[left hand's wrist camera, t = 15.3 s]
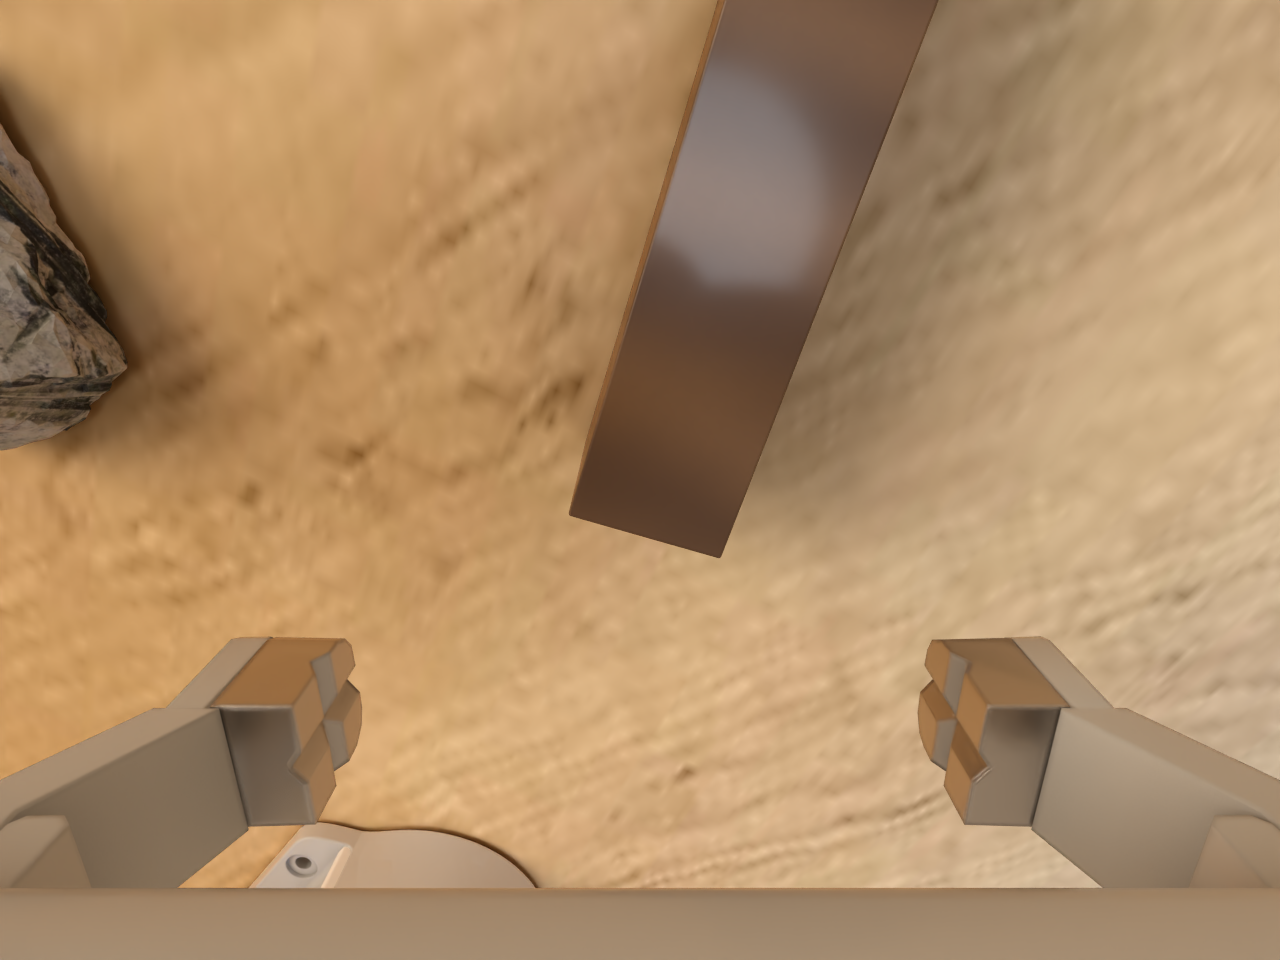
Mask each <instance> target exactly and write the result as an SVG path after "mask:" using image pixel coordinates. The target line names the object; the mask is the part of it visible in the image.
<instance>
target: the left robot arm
mask: <svg viewBox="0 0 1280 960" xmlns="http://www.w3.org/2000/svg"><path fill="white" fill-rule="evenodd" d="M354 667H355V661H354V656H353V651H352V646H351V644H350V643H349V642H348V641H347V640H346V639H342V638H293V637H275V638H273V637H239V638H235V639H231V640H230V641H229V642H228V643H227V644H226V645H225V646H224V647H223V648H222V650H221V651H220V652H219V653H218V654H217V655H216V656H215V657H214V658H213V659H212V660H211V661H210V662H209V663H208V664H207V665H206V666H205V667H204V668H203V669H202V670H201V672H200V673H199V674H198V675H197V676H196V677H195V678H194V679H193V680H192V681H191V682H190V683H189V684H188V685H187V686H186V687H185V688H184V689H183V690H182V691H181V692H180V694H179V695H178V696H177V697H176V698H175V699H174V700H173V701H172V702H171V703H170V704H169V705H168V706H167V707H166V708H153V709H151V710H149V711H147V712H144V713H142V714H140V715H138V716H136V717H134V718H132V719H130V720H127V721H125V722H123V723H121V724H119V725H117V726H115V727H112V728H110V729H108V730H106V731H104V732H102V733H100V734H98V735H95V736H93V737H91V738H89V739H87V740H85V741H83V742H80V743H78V744H76V745H74V746H72V747H70V748H68V749H66V750H63V751H61V752H59V753H57V754H55V755H53V756H51V757H49V758H46V759H44V760H42V761H40V762H38V763H36V764H34V765H31V766H29V767H27V768H25V769H23V770H21V771H19V772H17V773H14V774H12V775H10V776H8V777H6V778H4V779H2V780H0V960H1280V780H1278V779H1276V778H1274V777H1272V776H1269V775H1267V774H1265V773H1263V772H1261V771H1259V770H1257V769H1255V768H1252V767H1250V766H1248V765H1246V764H1244V763H1242V762H1240V761H1238V760H1235V759H1233V758H1231V757H1229V756H1227V755H1225V754H1223V753H1221V752H1218V751H1216V750H1214V749H1212V748H1210V747H1208V746H1206V745H1204V744H1201V743H1199V742H1197V741H1195V740H1193V739H1191V738H1189V737H1187V736H1184V735H1182V734H1180V733H1178V732H1176V731H1174V730H1172V729H1170V728H1167V727H1165V726H1163V725H1161V724H1159V723H1157V722H1155V721H1153V720H1150V719H1148V718H1146V717H1144V716H1142V715H1140V714H1138V713H1136V712H1133V711H1131V710H1129V709H1127V708H1114V707H1113V706H1112V705H1111V704H1110V703H1109V702H1108V701H1107V700H1106V699H1105V698H1104V697H1103V696H1102V695H1101V693H1100V692H1099V691H1098V690H1097V689H1096V688H1095V687H1094V686H1093V685H1092V684H1091V683H1090V682H1089V681H1088V680H1087V679H1086V678H1085V677H1084V676H1083V675H1082V674H1081V672H1080V671H1079V670H1078V669H1077V668H1076V667H1075V666H1074V665H1073V664H1072V663H1071V662H1070V661H1069V660H1068V659H1067V658H1066V657H1065V656H1064V655H1063V654H1062V653H1061V651H1060V650H1059V649H1058V648H1057V647H1056V646H1055V645H1054V644H1053V643H1052V642H1051V641H1050V640H1048V639H1045V638H1043V637H1041V636H1038V637H1011V638H986V639H943V640H932V641H931V643H930V645H929V647H928V649H927V654H926V660H925V667H926V668H927V670H928V672H929V673H930V675H931V677H932V678H933V680H932V681H931V682H930V683H929V684H928V685H927V686H926V687H925V688H924V689H923V690H922V691H921V692H920V698H919V706H918V722H919V733H920V736H921V739H922V743H923V746H924V748H925V750H926V752H927V754H928V756H929V758H930V760H931V761H932V762H933V763H935V764H936V765H937V766H939V767H940V768H942V769H943V770H945V771H946V775H945V781H944V787H945V789H946V791H947V793H948V795H949V797H950V798H951V800H952V802H953V804H954V806H955V808H956V810H957V812H958V813H959V815H960V817H961V819H962V821H963V823H964V825H994V826H1030V827H1032V829H1031V830H1032V831H1034V832H1035V833H1036V834H1037V835H1039V836H1040V837H1041V838H1042V839H1044V840H1045V841H1046V842H1047V843H1048V844H1050V845H1051V846H1052V847H1053V848H1055V849H1056V850H1057V851H1058V852H1060V853H1061V854H1062V855H1063V856H1064V857H1066V858H1067V859H1068V860H1069V861H1071V862H1072V863H1073V864H1074V865H1076V866H1077V867H1078V868H1079V869H1081V870H1082V871H1083V872H1084V873H1085V874H1087V875H1088V876H1089V877H1090V878H1092V879H1093V880H1094V881H1095V882H1097V883H1098V884H1099V885H1100V886H1101V887H1103V888H535V886H534V885H533V884H532V882H531V881H530V880H529V879H528V878H527V877H526V876H525V875H524V873H523V872H522V871H520V870H519V869H518V868H517V867H516V866H515V865H513V864H512V863H511V862H510V861H508V860H507V859H505V858H504V857H503V856H501V855H499V854H498V853H496V852H494V851H492V850H491V849H489V848H487V847H485V846H482V845H480V844H478V843H475V842H473V841H470V840H467V839H464V838H461V837H458V836H454V835H450V834H445V833H440V832H434V831H425V830H392V831H373V832H370V831H360V830H356V829H352V828H348V827H344V826H340V825H335V824H330V823H322V822H317V821H318V819H319V817H320V815H321V813H322V812H323V810H324V808H325V806H326V804H327V802H328V800H329V798H330V797H331V795H332V793H333V791H334V789H335V787H336V781H335V775H334V771H335V770H337V769H338V768H340V767H341V766H343V765H344V764H345V763H347V762H348V761H349V760H350V758H351V756H352V754H353V752H354V750H355V748H356V746H357V743H358V739H359V734H360V730H361V726H362V704H361V697H360V692H359V691H358V690H357V689H356V688H355V687H354V686H353V685H352V684H351V683H350V682H349V681H348V680H347V678H348V677H349V675H350V673H351V672H352V670H353V668H354ZM285 825H304V826H302V827H301V828H300V829H299V830H298V831H297V832H296V834H295V835H294V836H293V837H292V838H291V839H290V841H289V842H288V843H287V844H286V845H285V846H284V847H283V849H282V850H281V851H280V852H279V853H278V854H277V855H276V857H275V858H274V859H273V860H272V861H271V862H270V864H269V865H268V866H267V867H266V868H265V869H264V870H263V872H262V873H261V874H260V875H259V876H258V877H257V879H256V880H255V881H254V882H253V883H252V884H251V885H250V887H249V888H178V887H179V886H180V885H181V884H182V883H184V882H185V881H186V880H187V879H189V878H190V877H191V876H192V875H194V874H195V873H196V872H197V871H199V870H200V869H201V868H202V867H203V866H205V865H206V864H207V863H208V862H210V861H211V860H212V859H213V858H215V857H216V856H217V855H218V854H220V853H221V852H222V851H223V850H224V849H226V848H227V847H228V846H229V845H231V844H232V843H233V842H234V841H236V840H237V839H238V838H239V837H241V836H242V835H243V834H244V833H245V832H247V831H248V827H250V826H285Z"/></svg>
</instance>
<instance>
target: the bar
mask: <svg viewBox="0 0 1280 960" xmlns="http://www.w3.org/2000/svg"><path fill="white" fill-rule="evenodd" d="M937 3H938V0H718V2H717V6H716V9H715V12H714V16H713V19H712V22H711V26H710V29H709V32H708V36H707V39H706V42H705V46H704V49H703V52H702V56H701V59H700V62H699V66H698V69H697V72H696V76H695V79H694V82H693V86H692V89H691V92H690V96H689V99H688V102H687V106H686V109H685V112H684V116H683V119H682V122H681V126H680V129H679V132H678V136H677V139H676V142H675V146H674V149H673V152H672V156H671V159H670V162H669V166H668V169H667V172H666V176H665V179H664V182H663V186H662V189H661V192H660V196H659V199H658V202H657V206H656V209H655V212H654V216H653V219H652V222H651V226H650V229H649V232H648V236H647V239H646V242H645V246H644V249H643V252H642V256H641V259H640V262H639V266H638V269H637V272H636V276H635V279H634V282H633V286H632V289H631V292H630V296H629V299H628V302H627V306H626V309H625V312H624V316H623V319H622V322H621V326H620V329H619V332H618V336H617V339H616V342H615V346H614V349H613V352H612V356H611V359H610V362H609V366H608V369H607V372H606V376H605V379H604V382H603V386H602V389H601V392H600V396H599V399H598V403H597V406H596V409H595V413H594V416H593V419H592V423H591V426H590V429H589V433H588V436H587V439H586V443H585V447H584V451H583V455H582V460H581V464H580V468H579V472H578V477H577V481H576V485H575V489H574V494H573V498H572V502H571V506H570V510H569V515H570V516H573V517H576V518H580V519H583V520H587V521H590V522H594V523H597V524H601V525H604V526H608V527H611V528H615V529H618V530H622V531H625V532H629V533H632V534H636V535H639V536H643V537H646V538H650V539H653V540H657V541H660V542H664V543H667V544H671V545H674V546H678V547H681V548H685V549H689V550H692V551H696V552H699V553H703V554H706V555H710V556H713V557H717V558H720V557H721V556H722V553H723V551H724V548H725V545H726V543H727V540H728V538H729V535H730V533H731V530H732V528H733V525H734V522H735V520H736V517H737V515H738V512H739V510H740V507H741V505H742V502H743V499H744V497H745V494H746V492H747V489H748V487H749V484H750V481H751V479H752V476H753V474H754V471H755V469H756V466H757V464H758V461H759V458H760V456H761V453H762V451H763V448H764V446H765V443H766V441H767V438H768V435H769V433H770V430H771V428H772V425H773V423H774V420H775V418H776V415H777V412H778V410H779V407H780V405H781V402H782V400H783V397H784V394H785V392H786V389H787V387H788V384H789V382H790V379H791V377H792V374H793V371H794V369H795V366H796V364H797V361H798V359H799V356H800V354H801V351H802V348H803V346H804V343H805V341H806V338H807V336H808V333H809V331H810V328H811V325H812V323H813V320H814V318H815V315H816V313H817V310H818V308H819V305H820V302H821V300H822V297H823V295H824V292H825V290H826V287H827V284H828V282H829V279H830V277H831V274H832V272H833V269H834V267H835V264H836V261H837V259H838V256H839V254H840V251H841V249H842V246H843V244H844V241H845V238H846V236H847V233H848V231H849V228H850V226H851V223H852V221H853V218H854V215H855V213H856V210H857V208H858V205H859V203H860V200H861V197H862V195H863V192H864V190H865V187H866V185H867V182H868V180H869V177H870V174H871V172H872V169H873V167H874V164H875V162H876V159H877V157H878V154H879V151H880V149H881V146H882V144H883V141H884V139H885V136H886V134H887V131H888V128H889V126H890V123H891V121H892V118H893V116H894V113H895V111H896V108H897V105H898V103H899V100H900V98H901V95H902V93H903V90H904V87H905V85H906V82H907V80H908V77H909V75H910V72H911V70H912V67H913V64H914V62H915V59H916V57H917V54H918V52H919V49H920V47H921V44H922V41H923V39H924V36H925V34H926V31H927V29H928V26H929V24H930V21H931V18H932V16H933V13H934V11H935V8H936V6H937Z"/></svg>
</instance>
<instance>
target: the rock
mask: <svg viewBox="0 0 1280 960" xmlns="http://www.w3.org/2000/svg"><path fill="white" fill-rule="evenodd" d="M89 280H90V274H89V270H88V267H87V264H86V261H85V258H84V256H83V255H82V253H81V252H80V251H78V250H77V249H76V248H75V247H74V245H73V243H72V242H71V241H70V239H69V238H68V237H67V236H66V235H65V233H64V232H63V231H62V230H61V229H60V227H59V226H58V225H57V223H56V216H55V214H54V212H53V211H52V209H51V207H50V206H49V197H48V195H47V193H46V191H45V189H44V188H43V186H42V184H41V183H40V181H39V180H38V178H37V177H36V175H35V174H34V172H33V169H32V167H31V164H30V162H29V161H28V160H27V159H25V158H24V157H23V156H22V155H20V154H19V153H18V152H17V151H16V149H15V148H14V146H13V144H12V143H11V141H10V139H9V138H8V136H7V134H6V132H5V130H4V128H3V126H2V125H1V123H0V450H7V449H13V448H17V447H20V446H23V445H25V444H28V443H31V442H35V441H39V440H44V439H49V438H51V437H53V436H55V435H56V434H58V433H60V432H62V431H64V430H68V429H69V428H70V427H72V426H74V425H76V424H78V423H79V422H81V421H83V420H84V419H86V417H87V415H88V413H89V411H90V410H91V408H90V405H91V404H92V403H93V402H94V401H96V400H98V399H99V398H100V397H101V395H102V394H104V393H106V392H107V391H109V390H110V388H111V385H112V381H113V380H114V379H115V378H117V377H118V376H119V375H120V374H121V373H122V372H123V371H125V370H126V369H127V360H126V357H125V353H124V349H123V348H122V347H121V346H120V344H119V342H118V340H117V339H116V337H115V335H114V334H113V333H112V331H111V330H110V329H109V328H108V326H107V325H106V324H105V321H106V318H107V310H106V309H105V308H104V305H103V303H102V301H101V300H100V298H99V296H98V295H97V293H96V292H95V291H94V290H93V289H92V288H91V287H90V286H89V285H88V284H87V283H88V281H89Z"/></svg>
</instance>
